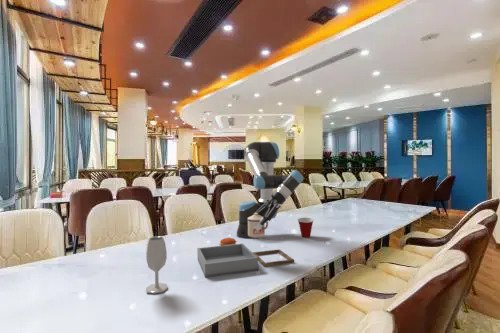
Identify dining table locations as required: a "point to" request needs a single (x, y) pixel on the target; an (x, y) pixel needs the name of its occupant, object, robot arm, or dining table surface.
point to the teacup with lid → (253, 222)
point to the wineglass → (156, 262)
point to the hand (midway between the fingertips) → (252, 227)
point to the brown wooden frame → (289, 260)
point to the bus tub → (226, 260)
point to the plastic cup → (305, 226)
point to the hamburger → (227, 241)
